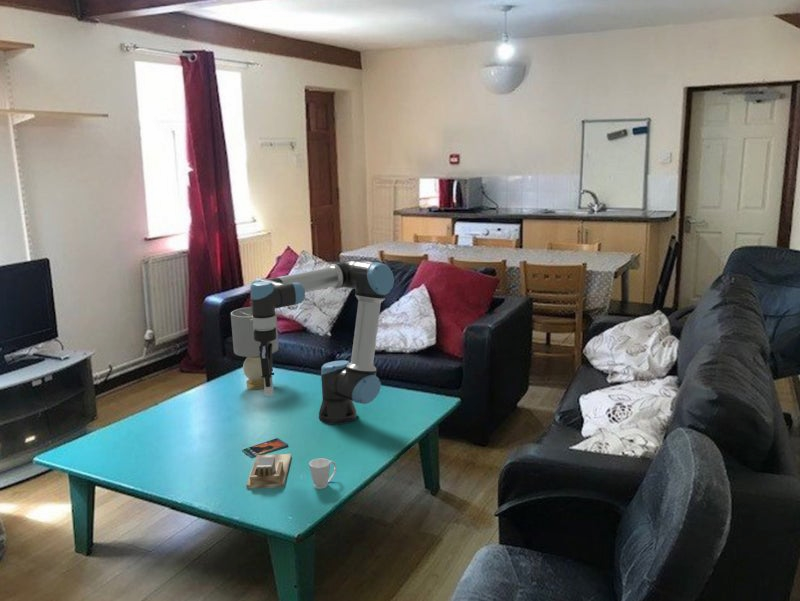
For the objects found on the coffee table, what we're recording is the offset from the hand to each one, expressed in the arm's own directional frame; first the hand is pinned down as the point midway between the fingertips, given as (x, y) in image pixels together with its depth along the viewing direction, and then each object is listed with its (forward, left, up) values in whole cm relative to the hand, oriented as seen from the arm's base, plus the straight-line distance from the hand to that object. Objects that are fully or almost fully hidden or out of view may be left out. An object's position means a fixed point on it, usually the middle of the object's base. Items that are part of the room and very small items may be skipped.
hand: (269, 394), depth 238 cm
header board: (0, +9, -24) cm, 26 cm away
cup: (-19, +19, -25) cm, 36 cm away
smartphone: (+4, -10, -25) cm, 27 cm away
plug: (0, +15, -23) cm, 27 cm away
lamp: (+17, -78, -25) cm, 84 cm away
